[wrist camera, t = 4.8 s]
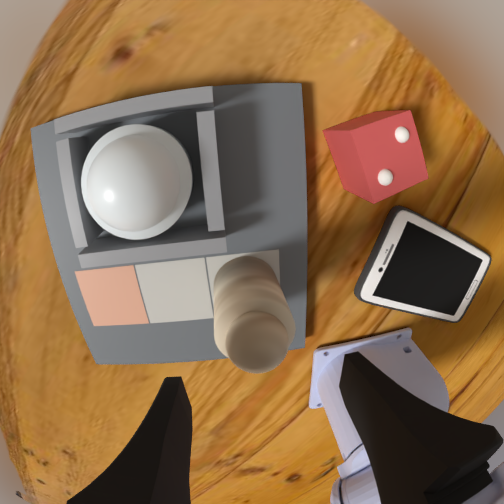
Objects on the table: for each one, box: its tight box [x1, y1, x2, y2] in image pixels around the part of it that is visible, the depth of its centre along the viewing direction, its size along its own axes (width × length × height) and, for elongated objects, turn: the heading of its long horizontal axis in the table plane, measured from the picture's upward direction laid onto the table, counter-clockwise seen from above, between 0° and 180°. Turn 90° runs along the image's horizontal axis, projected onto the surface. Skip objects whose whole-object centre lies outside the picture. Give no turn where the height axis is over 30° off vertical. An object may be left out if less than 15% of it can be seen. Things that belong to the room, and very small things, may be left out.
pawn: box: [214, 256, 296, 373], centre depth 15 cm, size 4×4×7 cm
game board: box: [31, 83, 307, 364], centre depth 17 cm, size 16×18×4 cm
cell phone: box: [354, 206, 491, 323], centre depth 22 cm, size 8×15×1 cm, turn 71°
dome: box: [81, 124, 194, 240], centre depth 13 cm, size 6×6×5 cm
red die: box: [322, 110, 428, 204], centre depth 15 cm, size 4×4×4 cm
